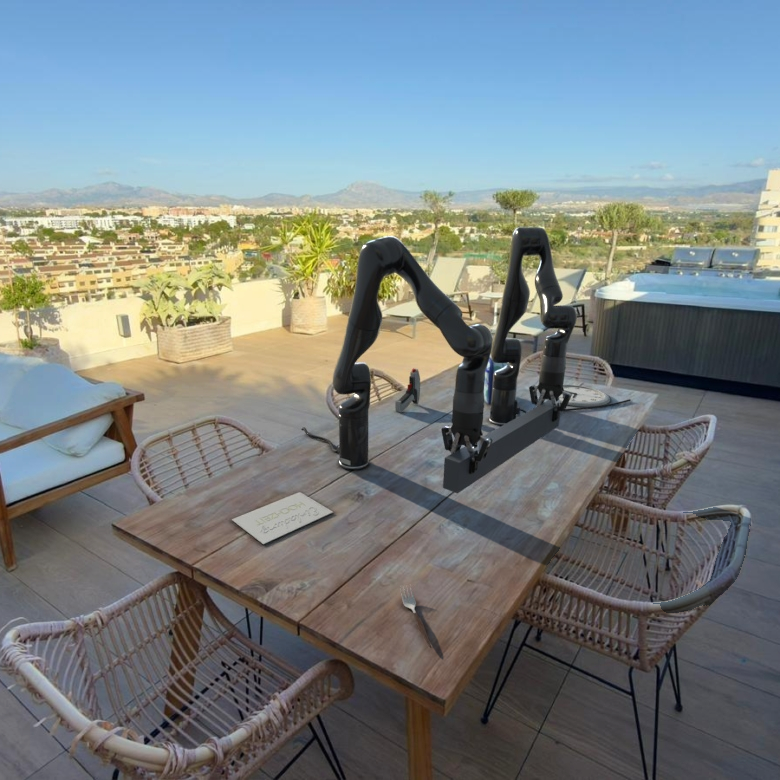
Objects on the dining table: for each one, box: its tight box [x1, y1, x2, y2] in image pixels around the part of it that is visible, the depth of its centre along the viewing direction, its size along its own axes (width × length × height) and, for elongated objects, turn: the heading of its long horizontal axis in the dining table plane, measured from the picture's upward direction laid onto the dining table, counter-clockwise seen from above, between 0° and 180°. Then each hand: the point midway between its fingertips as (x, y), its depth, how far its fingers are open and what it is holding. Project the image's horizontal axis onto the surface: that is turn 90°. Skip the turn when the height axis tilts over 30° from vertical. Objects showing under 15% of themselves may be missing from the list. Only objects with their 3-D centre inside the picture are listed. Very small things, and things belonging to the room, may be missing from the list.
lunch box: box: [484, 354, 507, 406], centre depth 230 cm, size 26×11×21 cm, turn 179°
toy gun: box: [394, 367, 421, 413], centre depth 218 cm, size 2×16×15 cm
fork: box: [399, 584, 432, 649], centre depth 101 cm, size 3×16×2 cm, turn 16°
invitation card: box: [231, 491, 334, 545], centre depth 137 cm, size 21×1×15 cm
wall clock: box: [547, 384, 611, 408], centre depth 239 cm, size 30×2×30 cm
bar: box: [442, 399, 562, 494], centre depth 151 cm, size 62×4×8 cm, turn 140°
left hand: (463, 469), depth 133 cm, fingers closed on bar, 4 cm apart
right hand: (546, 419), depth 170 cm, fingers closed on bar, 4 cm apart
